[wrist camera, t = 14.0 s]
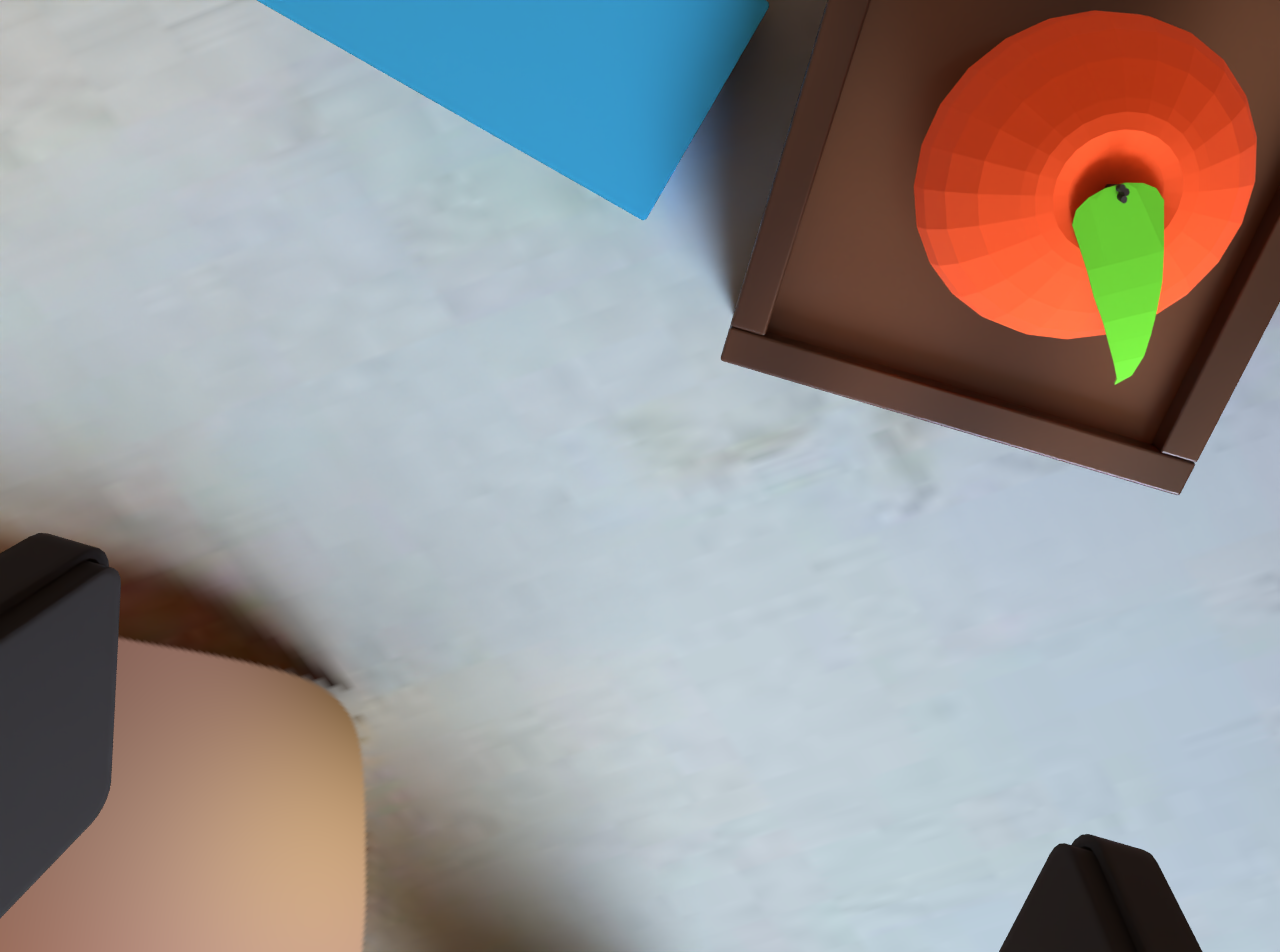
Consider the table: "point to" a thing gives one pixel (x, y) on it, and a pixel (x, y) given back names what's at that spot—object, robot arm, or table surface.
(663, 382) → the table surface
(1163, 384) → the tray
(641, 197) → the lever
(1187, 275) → the clementine
